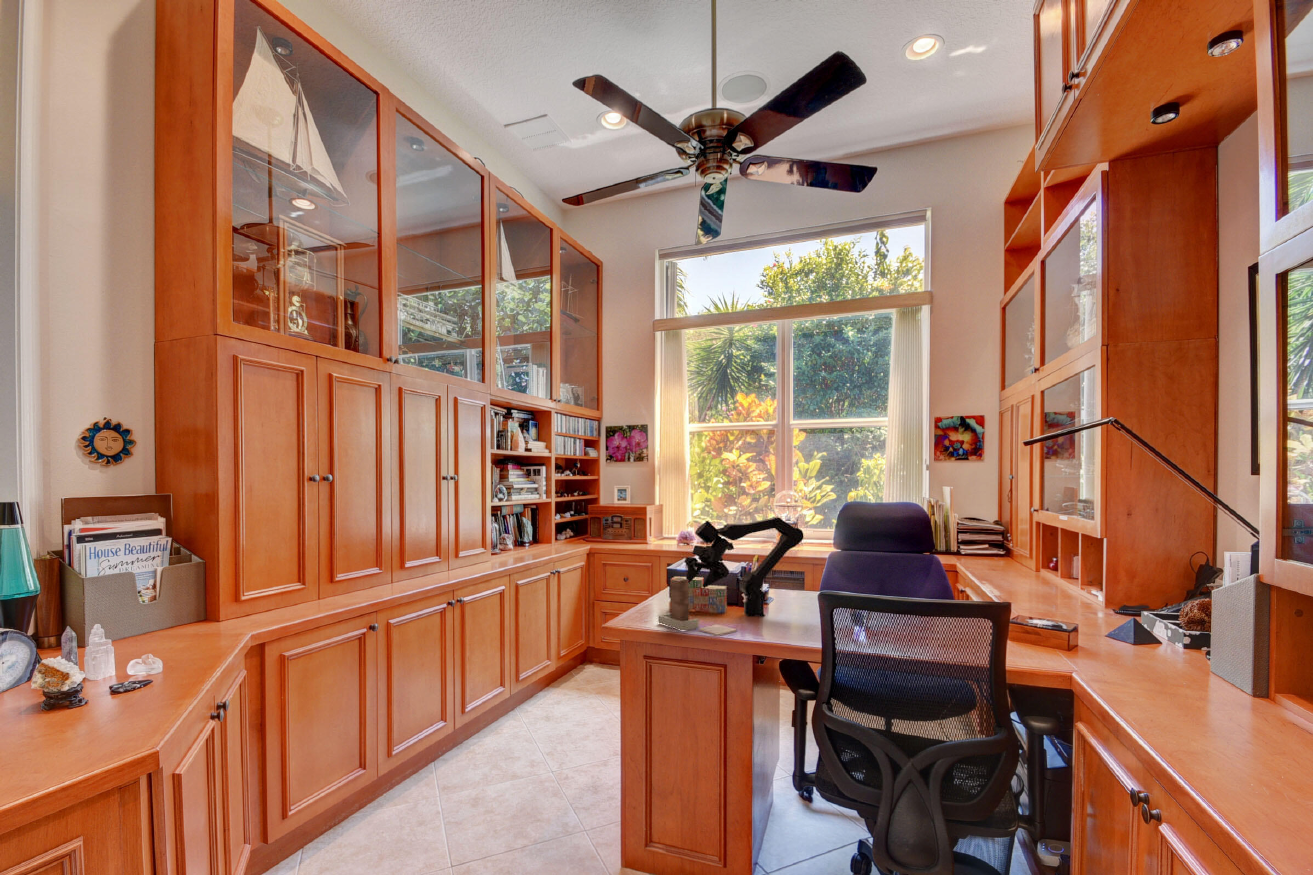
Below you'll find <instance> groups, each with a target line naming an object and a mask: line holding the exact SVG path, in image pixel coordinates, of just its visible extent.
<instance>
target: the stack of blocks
mask: <svg viewBox="0 0 1313 875" xmlns="http://www.w3.org/2000/svg"><path fill="white" fill-rule="evenodd" d="M675 578H683V579H686V576H674V577H672V578H671V579H675ZM704 581H705V578H704V577H701V576H700V577H698V576H696V577H695V578H694V579H693V580H692V581H690V582H689V583H688V586H689V610H697V611H702V613H716V614H725V613H726V611H727V610H728V609H727V608H728V605H727V604H728V603H727V601H728V599H727V597H728V591H727V588H728V586H727V585H712V584H710V585H709V586H707V587H705V588H704V587H703V583H704Z"/></svg>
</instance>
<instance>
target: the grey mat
mask: <svg viewBox="0 0 1313 875" xmlns="http://www.w3.org/2000/svg"><path fill="white" fill-rule="evenodd" d="M699 630H700V631H699ZM698 631H699V632H702V631H704V632H703V633H705V632H707V633H706V634H709V633H710V634H709V635H713V636H715V637H719V636H724V635H727V634H732V633H735V632H737V629H736V628H731V627H729V626H724V625H721V624H713V625H708V626H704V627H700V628H698Z"/></svg>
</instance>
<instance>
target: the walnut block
mask: <svg viewBox="0 0 1313 875" xmlns="http://www.w3.org/2000/svg"><path fill="white" fill-rule="evenodd" d="M669 579H670V580H669V582H670V587H669V588H670V613H671V618H672V619H675V620H679V621H682V622H683V621H688V620H690V618H689V616H690V611H689V586H688V579H683V578H675V579H672V578H669Z"/></svg>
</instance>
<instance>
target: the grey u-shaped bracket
mask: <svg viewBox="0 0 1313 875" xmlns="http://www.w3.org/2000/svg"><path fill="white" fill-rule="evenodd" d="M657 619H658V621H657V623H658V622H659V623H662V624H665V625H668V626H671V627H675V628H677V629H680V630H687V631H690V630H689V629H691V630H694V628H696V629H698V628H699V618H694V619H689V620H688V621H683V622H682V621H679V620H675V619H672V618H671V612H669V613H665V614H659V615H658V618H657ZM697 627H698V628H697Z"/></svg>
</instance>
